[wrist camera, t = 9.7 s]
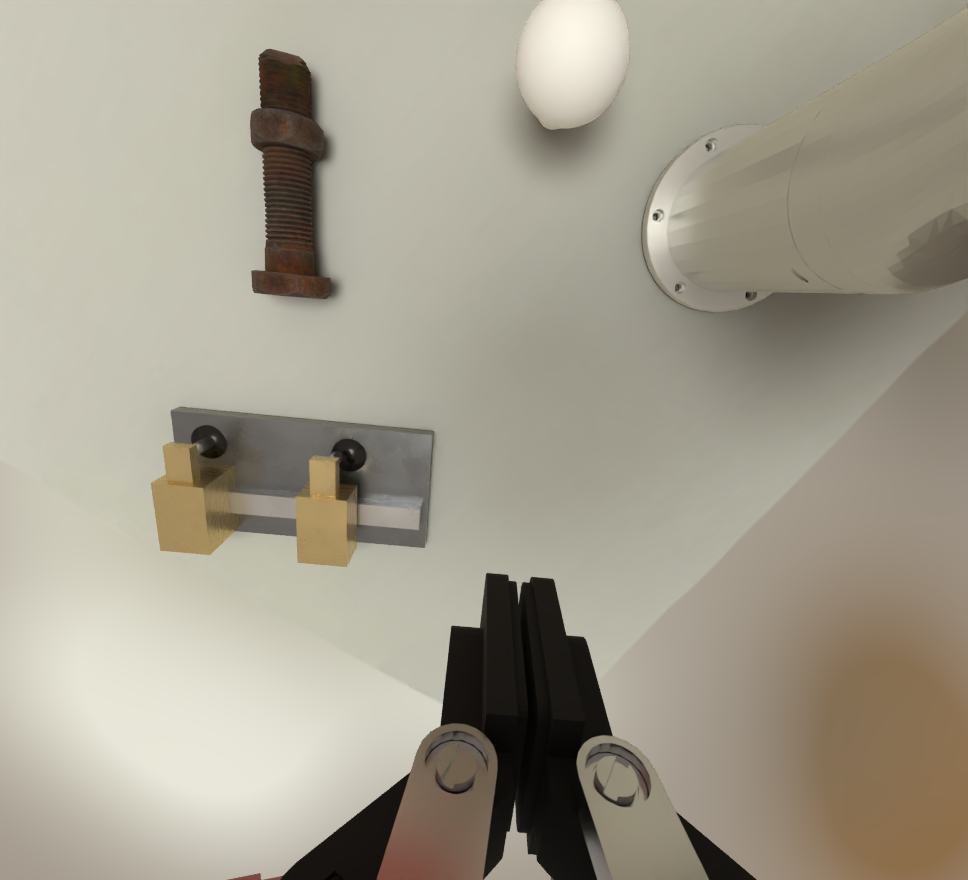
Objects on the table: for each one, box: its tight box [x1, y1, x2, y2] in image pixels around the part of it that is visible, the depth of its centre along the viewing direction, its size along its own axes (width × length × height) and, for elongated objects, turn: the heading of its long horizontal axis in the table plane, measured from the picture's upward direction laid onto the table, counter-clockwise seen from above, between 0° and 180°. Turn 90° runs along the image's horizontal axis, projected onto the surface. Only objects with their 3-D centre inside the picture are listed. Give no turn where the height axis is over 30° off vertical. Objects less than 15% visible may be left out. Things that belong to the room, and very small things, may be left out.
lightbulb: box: [516, 0, 630, 130], centre depth 28 cm, size 6×6×11 cm
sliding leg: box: [295, 451, 357, 567], centre depth 38 cm, size 4×9×4 cm, turn 174°
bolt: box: [250, 49, 330, 299], centre depth 33 cm, size 6×5×15 cm
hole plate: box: [151, 407, 433, 555], centre depth 39 cm, size 22×11×6 cm, turn 85°
